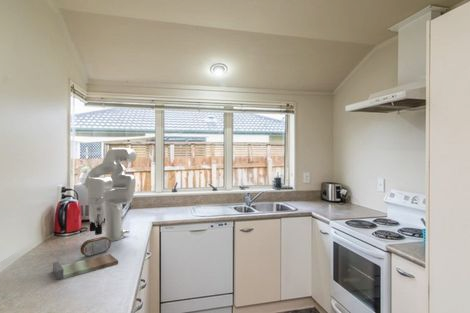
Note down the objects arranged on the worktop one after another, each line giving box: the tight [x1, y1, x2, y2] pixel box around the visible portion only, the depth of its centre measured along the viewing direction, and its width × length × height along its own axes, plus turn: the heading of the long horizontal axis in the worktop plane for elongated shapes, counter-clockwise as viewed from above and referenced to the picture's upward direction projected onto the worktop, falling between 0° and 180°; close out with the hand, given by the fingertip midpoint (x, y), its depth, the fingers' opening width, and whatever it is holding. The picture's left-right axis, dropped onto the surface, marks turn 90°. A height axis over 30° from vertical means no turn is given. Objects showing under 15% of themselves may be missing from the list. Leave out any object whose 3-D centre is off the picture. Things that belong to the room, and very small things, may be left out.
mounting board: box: [61, 253, 119, 280], centre depth 127 cm, size 23×12×2 cm, turn 133°
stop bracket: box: [52, 261, 63, 281], centre depth 118 cm, size 2×12×4 cm, turn 43°
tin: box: [80, 236, 112, 257], centre depth 143 cm, size 15×3×8 cm, turn 141°
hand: (95, 232), depth 142 cm, fingers open, 9 cm apart
